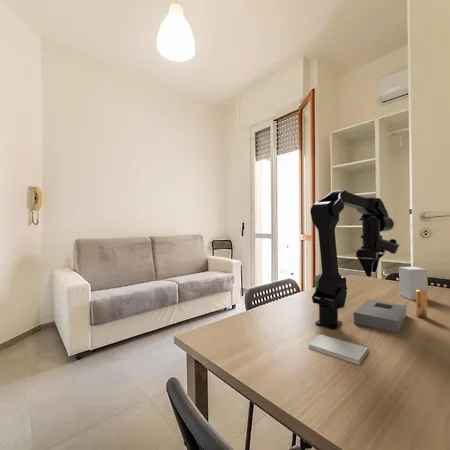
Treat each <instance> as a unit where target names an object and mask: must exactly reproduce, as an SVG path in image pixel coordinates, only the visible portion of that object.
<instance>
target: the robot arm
mask: <svg viewBox="0 0 450 450" xmlns="http://www.w3.org/2000/svg"><path fill="white" fill-rule="evenodd" d="M345 207H349V208H350V207H351V208H352V209H356V212H358V213H359V214H361V216H359V218H358V221H361V224H362V225H361V228H362V229H361V231H362V232H361V233H362V234H361V235H360V239H362V246H361V248H359V249H357V250H356V252H355V256H356V257H355V258H357V260H358V261H359V264H360V265H361V267H362V268H363V271H364V273H365V275H366V277H369V278H370V277H372V274H373V273H377V270H378V266H379V263H380V259H381V258H382V257H383V256H384V255H385V254H386V251H387V252H388V253H390V254H393V255H395V254H397V252H398V249H399V247H400V244H399V243H397V239H394V238H391V239H389V240H388V239H385V238H383V235H382V234H381V233H382V232H390V231H391V230H393V228H394V226H395V222H394V220H393V218H391V217H390V216H389V213H388V211H387V208H386V206H385V204H384V202H383V201H382V199H381V198H380V197H363V196H360V195H358V194H355V193H352V192H349V191H347V190H345V189H339V190H338V189H337V190H332V191H330V192H329V193H328V194H327V195H326V196H324V197H322V198H321V199H319V200H317V202H314V203H313V204H312V206H311V207H310V209H309V210H310V216H311V221H312V224H313V225H314V226H315V228H316V229H317V231H318V233H317V234H318V239H319V240H318V241H319V242H318V243H319V252H320V265H321V273H320V274H321V276H320V278H319V280H318V288H317V289H315V291H314V293H313V294H312V296H311V300H312V303H314V304H317V305H318V319H317V321H315V322H314V325H317V326H322V327H324V328H328V329H333V330H336V329H337V328H338V327H340V325H342V323H343V321H341V320H339V309H343V308H345V304H346V299H347V294H348V292H347V290H348V287H347V278H346V277H345V276H342V275H341V273H339V264H338V262H339V261H338V252H337V242H336V230H335V229H336V227H337V225H338V223H339V221H340V213H341V212H342V211H344V209H345ZM324 298H325V299H324Z"/></svg>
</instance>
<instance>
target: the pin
mask: <svg viewBox="0 0 450 450" xmlns="http://www.w3.org/2000/svg"><path fill="white" fill-rule="evenodd" d="M415 317H417V318H420V319H427V318H428V299H427V291H426V290H420V289H417V290H416V300H415Z"/></svg>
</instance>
